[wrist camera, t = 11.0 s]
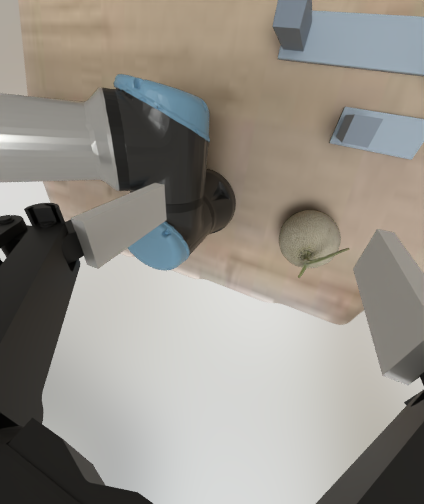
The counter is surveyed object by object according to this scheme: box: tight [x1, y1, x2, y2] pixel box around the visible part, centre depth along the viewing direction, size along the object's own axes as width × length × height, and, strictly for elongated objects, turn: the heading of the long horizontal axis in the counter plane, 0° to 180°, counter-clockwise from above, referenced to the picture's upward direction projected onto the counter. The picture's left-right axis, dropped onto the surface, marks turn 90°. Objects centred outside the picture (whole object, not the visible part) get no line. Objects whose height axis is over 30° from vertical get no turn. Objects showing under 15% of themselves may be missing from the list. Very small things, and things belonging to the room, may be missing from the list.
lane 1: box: [272, 0, 424, 76], centre depth 23 cm, size 30×5×11 cm, turn 81°
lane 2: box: [329, 107, 424, 160], centre depth 28 cm, size 12×5×11 cm, turn 81°
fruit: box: [279, 210, 349, 278], centre depth 38 cm, size 10×12×15 cm
